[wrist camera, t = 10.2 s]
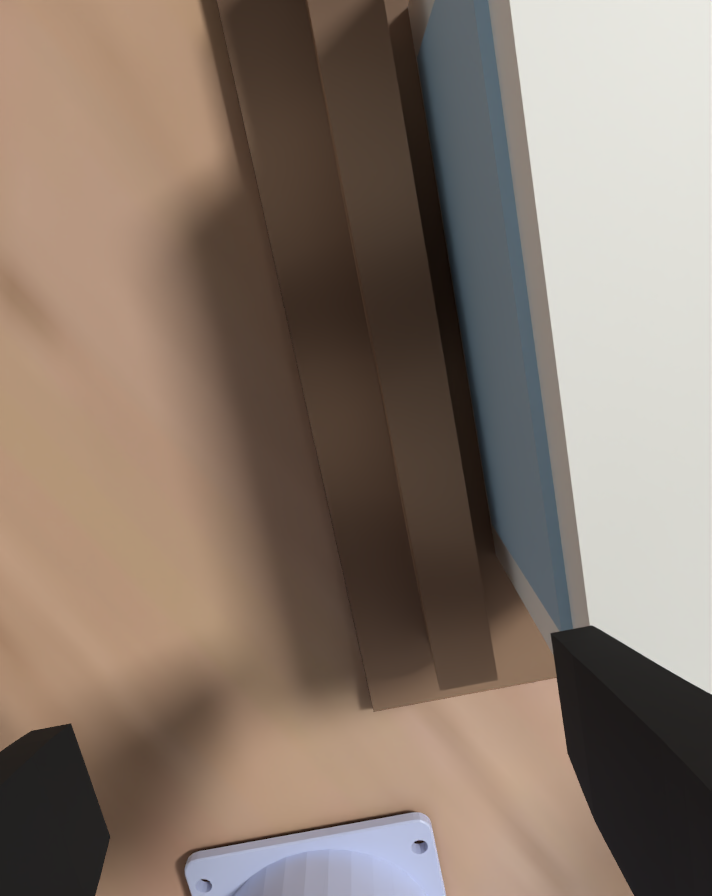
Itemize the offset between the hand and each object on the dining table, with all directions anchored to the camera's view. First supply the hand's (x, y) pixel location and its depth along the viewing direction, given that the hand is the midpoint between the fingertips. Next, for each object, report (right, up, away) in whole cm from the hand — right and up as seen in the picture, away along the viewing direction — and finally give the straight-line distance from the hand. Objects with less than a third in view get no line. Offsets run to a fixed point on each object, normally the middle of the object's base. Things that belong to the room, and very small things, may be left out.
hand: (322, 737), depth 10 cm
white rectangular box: (+5, +8, +7) cm, 12 cm away
